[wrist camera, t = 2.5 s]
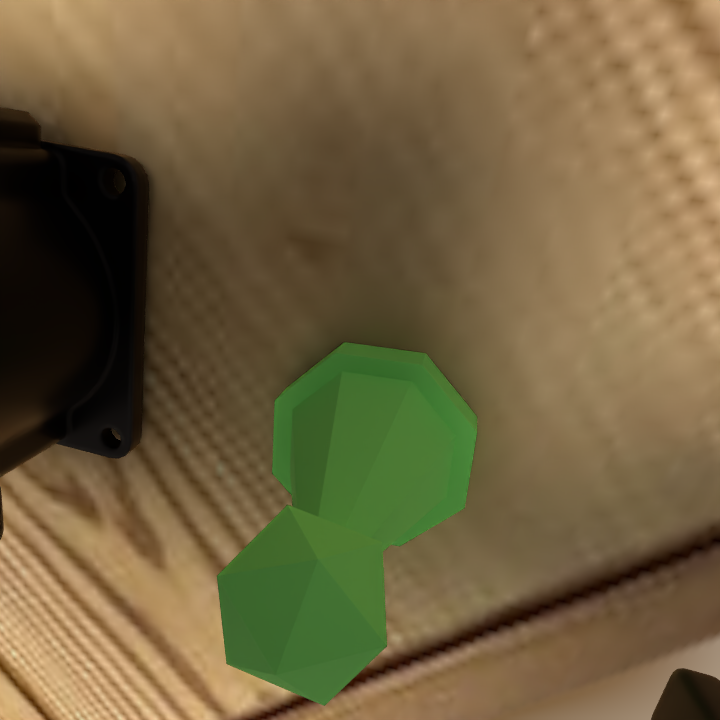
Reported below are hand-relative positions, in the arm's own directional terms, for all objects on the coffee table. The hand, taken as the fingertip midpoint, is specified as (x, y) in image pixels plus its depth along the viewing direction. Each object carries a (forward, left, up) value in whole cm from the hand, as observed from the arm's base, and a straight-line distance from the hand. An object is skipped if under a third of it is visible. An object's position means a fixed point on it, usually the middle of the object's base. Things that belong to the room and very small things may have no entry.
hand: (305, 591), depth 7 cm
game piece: (0, 0, -5) cm, 5 cm away
